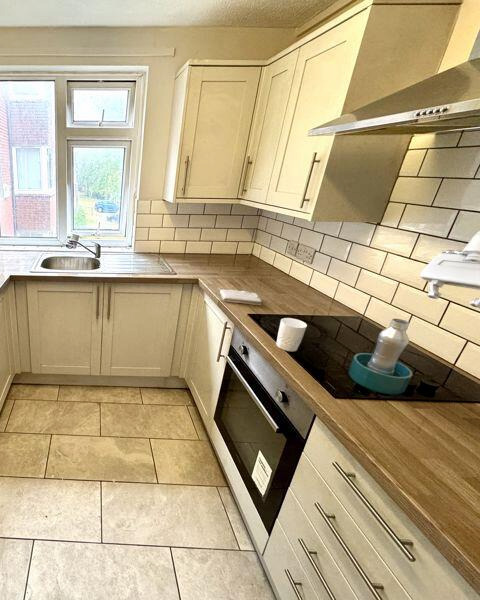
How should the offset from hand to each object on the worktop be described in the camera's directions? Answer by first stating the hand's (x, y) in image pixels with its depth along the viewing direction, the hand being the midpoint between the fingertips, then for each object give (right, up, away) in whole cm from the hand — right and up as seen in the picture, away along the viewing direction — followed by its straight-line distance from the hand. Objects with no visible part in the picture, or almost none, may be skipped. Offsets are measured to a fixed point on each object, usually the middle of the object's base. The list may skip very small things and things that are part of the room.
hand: (452, 301), depth 80 cm
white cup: (-18, -17, +37) cm, 44 cm away
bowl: (-3, -25, +18) cm, 31 cm away
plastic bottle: (-3, -24, +18) cm, 30 cm away
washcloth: (-14, 0, +79) cm, 80 cm away
